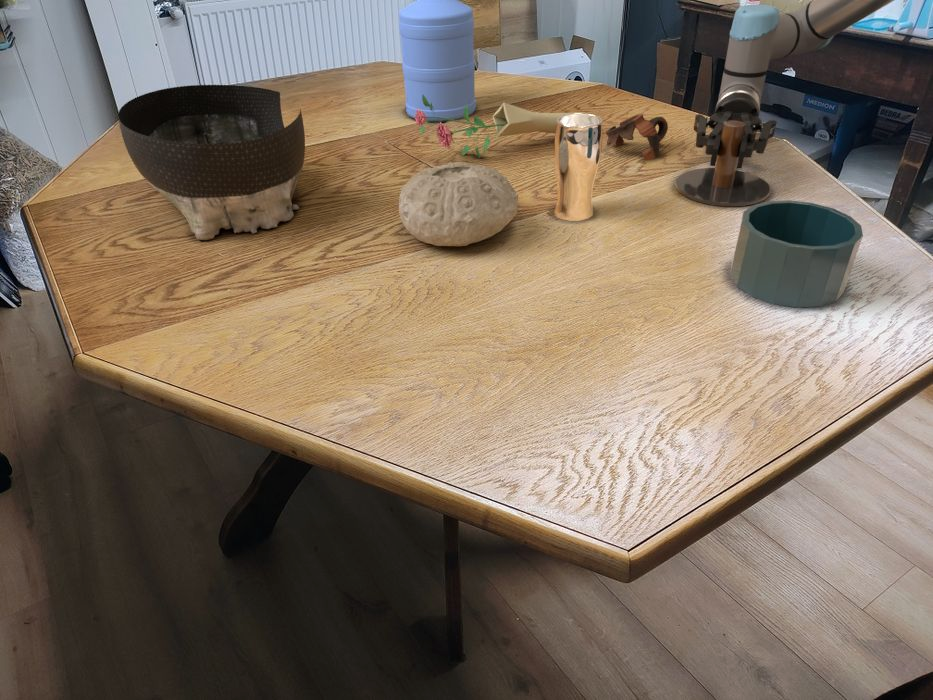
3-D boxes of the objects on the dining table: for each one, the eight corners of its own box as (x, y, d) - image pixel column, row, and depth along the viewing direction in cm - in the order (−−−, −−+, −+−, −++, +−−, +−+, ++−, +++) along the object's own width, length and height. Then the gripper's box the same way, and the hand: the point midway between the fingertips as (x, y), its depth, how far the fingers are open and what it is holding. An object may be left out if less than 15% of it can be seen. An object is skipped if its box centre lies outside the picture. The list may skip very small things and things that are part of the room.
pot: (839, 266, 92) (858, 207, 87) (844, 319, 82) (866, 256, 77) (732, 252, 96) (745, 195, 91) (725, 300, 86) (739, 239, 81)
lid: (769, 179, 116) (785, 113, 110) (767, 215, 105) (785, 143, 99) (680, 170, 121) (690, 106, 114) (669, 203, 110) (679, 134, 103)
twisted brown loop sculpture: (637, 171, 123) (619, 128, 120) (609, 177, 132) (591, 137, 129) (687, 140, 126) (670, 98, 123) (655, 149, 134) (639, 109, 132)
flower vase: (578, 179, 138) (423, 177, 121) (550, 144, 145) (399, 138, 128) (603, 128, 130) (441, 118, 113) (573, 93, 137) (415, 79, 120)
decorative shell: (408, 208, 112) (403, 148, 106) (517, 207, 111) (518, 147, 105) (393, 261, 97) (386, 194, 91) (518, 261, 96) (519, 194, 90)
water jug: (483, 119, 148) (480, -28, 132) (411, 126, 146) (400, -22, 129) (467, 99, 161) (463, -37, 144) (401, 105, 158) (389, -32, 142)
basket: (310, 156, 133) (295, 68, 124) (321, 233, 105) (303, 128, 96) (157, 173, 128) (130, 83, 119) (127, 258, 101) (87, 150, 91)
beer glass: (564, 228, 104) (569, 130, 95) (543, 210, 109) (547, 116, 100) (604, 220, 106) (613, 123, 97) (582, 203, 111) (588, 109, 102)
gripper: (780, 138, 122) (778, 187, 104) (686, 130, 127) (669, 176, 109) (790, 94, 117) (790, 139, 100) (692, 88, 122) (676, 129, 105)
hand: (727, 158), depth 105 cm, fingers closed on lid, 3 cm apart
